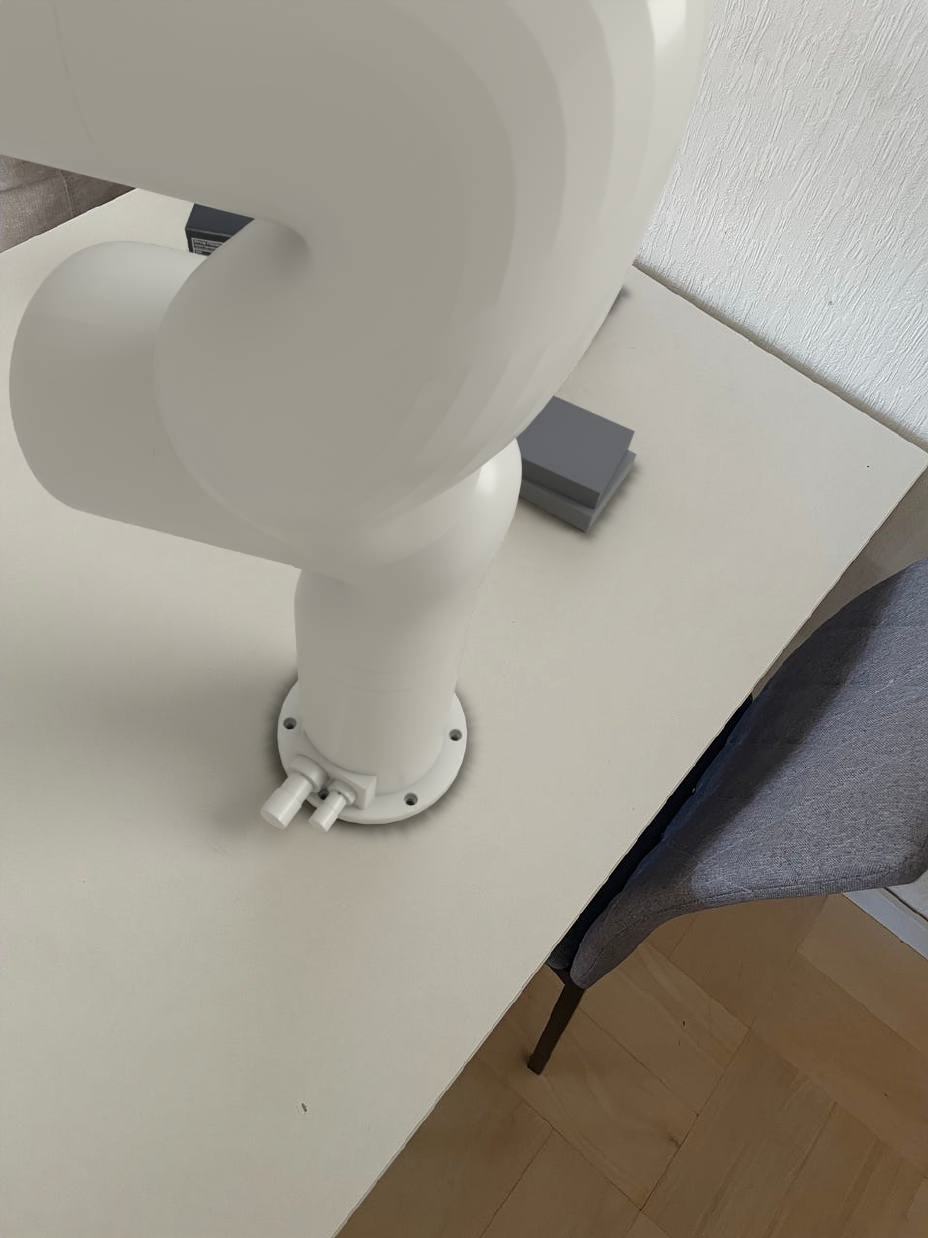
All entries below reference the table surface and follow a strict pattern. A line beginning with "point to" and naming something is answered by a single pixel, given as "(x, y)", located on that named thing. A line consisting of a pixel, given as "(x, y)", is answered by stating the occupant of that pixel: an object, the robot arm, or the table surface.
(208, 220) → the small box
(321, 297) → the robot arm
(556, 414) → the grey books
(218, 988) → the table surface
